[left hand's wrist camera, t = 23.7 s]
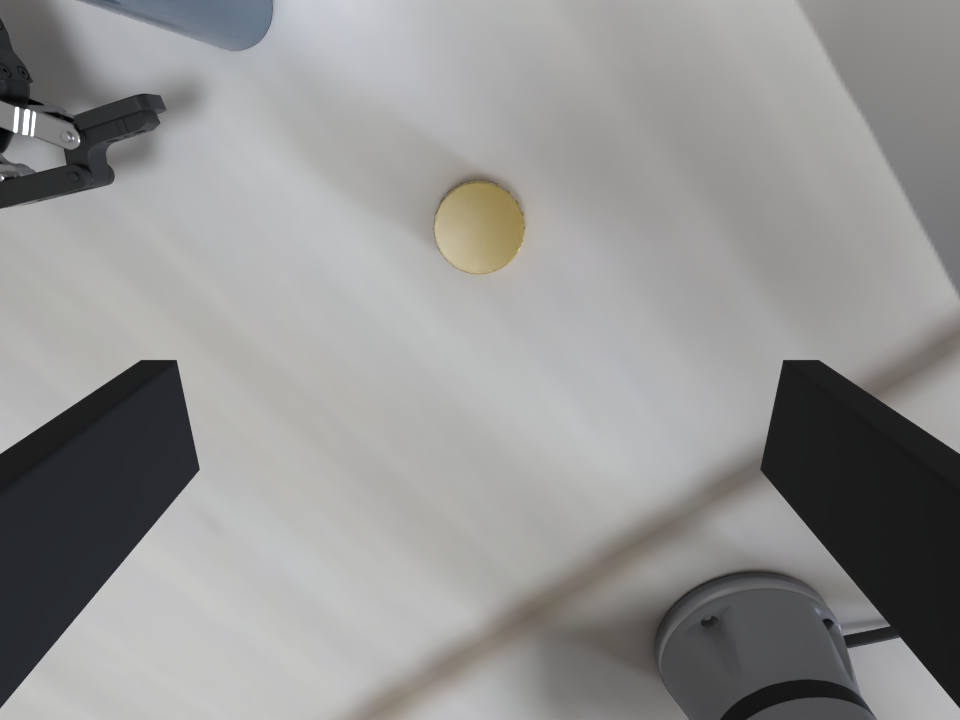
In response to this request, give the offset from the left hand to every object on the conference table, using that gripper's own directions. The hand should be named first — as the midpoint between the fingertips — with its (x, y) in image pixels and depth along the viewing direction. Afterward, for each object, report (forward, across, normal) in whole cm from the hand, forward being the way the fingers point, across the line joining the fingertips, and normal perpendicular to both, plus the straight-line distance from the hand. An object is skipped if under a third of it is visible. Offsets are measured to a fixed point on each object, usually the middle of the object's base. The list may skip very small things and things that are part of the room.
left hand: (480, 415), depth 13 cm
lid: (+25, 0, 0) cm, 25 cm away
